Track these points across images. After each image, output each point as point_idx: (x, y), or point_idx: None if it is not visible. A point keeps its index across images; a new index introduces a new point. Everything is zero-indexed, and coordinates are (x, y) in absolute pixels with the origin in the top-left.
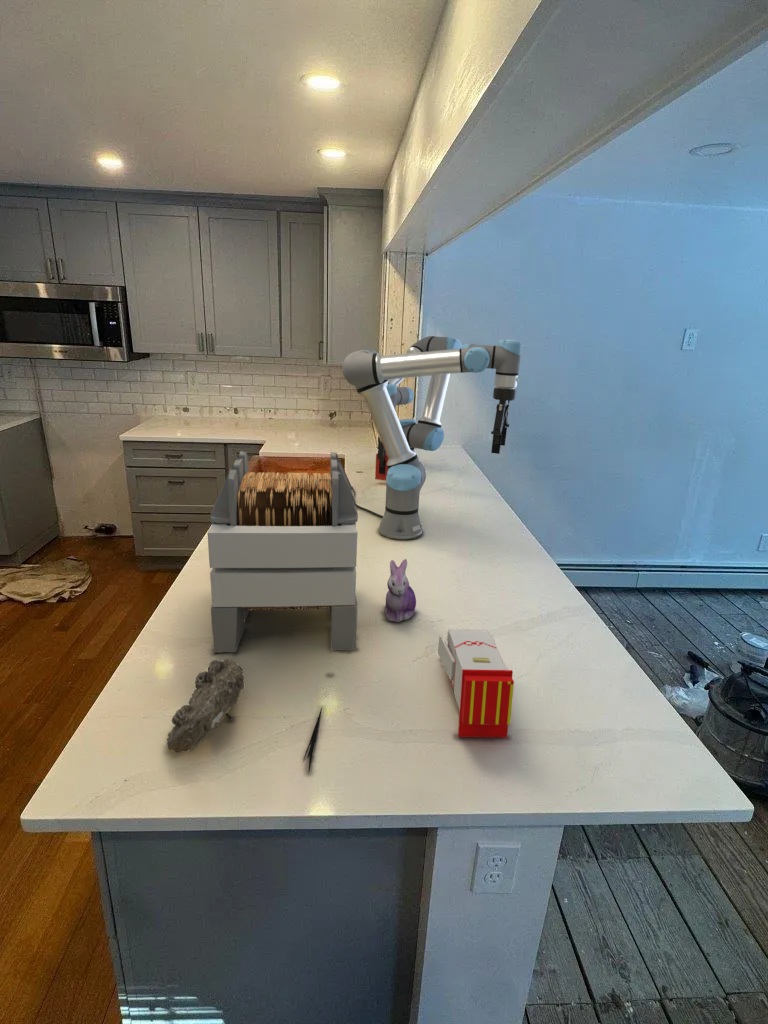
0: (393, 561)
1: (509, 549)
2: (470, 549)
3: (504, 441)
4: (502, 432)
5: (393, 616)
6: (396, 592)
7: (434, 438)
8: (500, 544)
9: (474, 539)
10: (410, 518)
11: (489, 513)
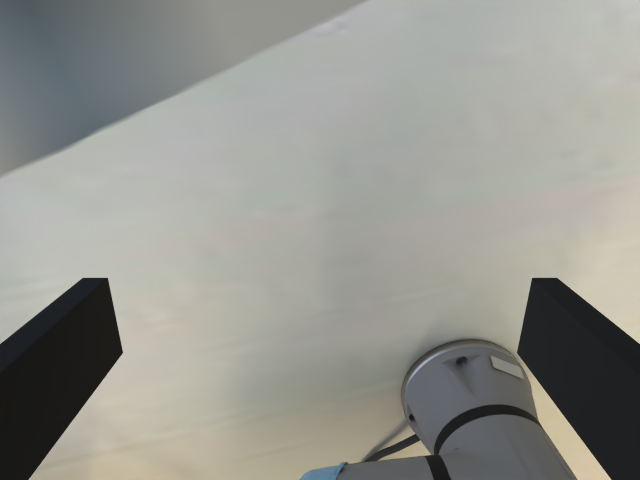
0: None
1: (501, 56)
2: (536, 186)
3: (82, 310)
4: (6, 434)
5: None
6: None
7: None
8: (462, 95)
9: (445, 189)
10: (527, 405)
11: (158, 184)
